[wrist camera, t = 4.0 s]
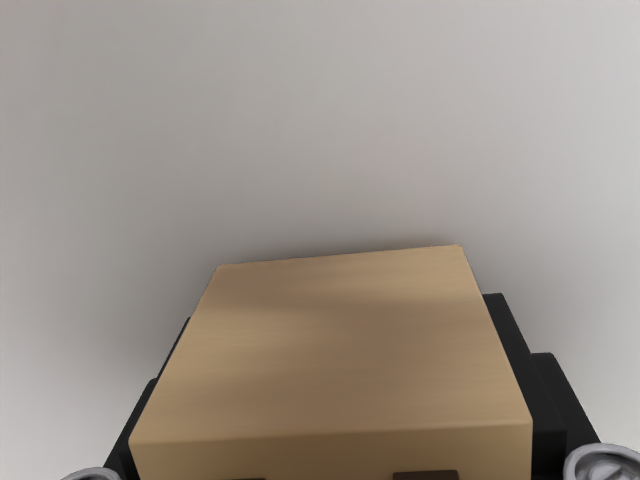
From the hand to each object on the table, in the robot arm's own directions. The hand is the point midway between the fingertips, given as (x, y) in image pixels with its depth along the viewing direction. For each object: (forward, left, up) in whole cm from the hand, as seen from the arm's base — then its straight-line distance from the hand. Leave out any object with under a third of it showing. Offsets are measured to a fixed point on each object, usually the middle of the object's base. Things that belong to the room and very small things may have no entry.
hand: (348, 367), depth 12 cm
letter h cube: (0, 0, 0) cm, 0 cm away
